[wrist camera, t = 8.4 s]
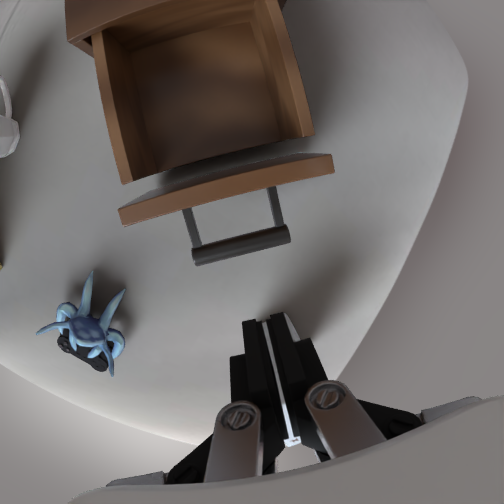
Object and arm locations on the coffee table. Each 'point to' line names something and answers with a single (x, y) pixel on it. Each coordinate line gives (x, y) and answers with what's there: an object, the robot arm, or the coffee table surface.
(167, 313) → the coffee table surface
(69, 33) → the cabinet
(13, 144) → the cup
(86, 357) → the figurine
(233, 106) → the drawer
